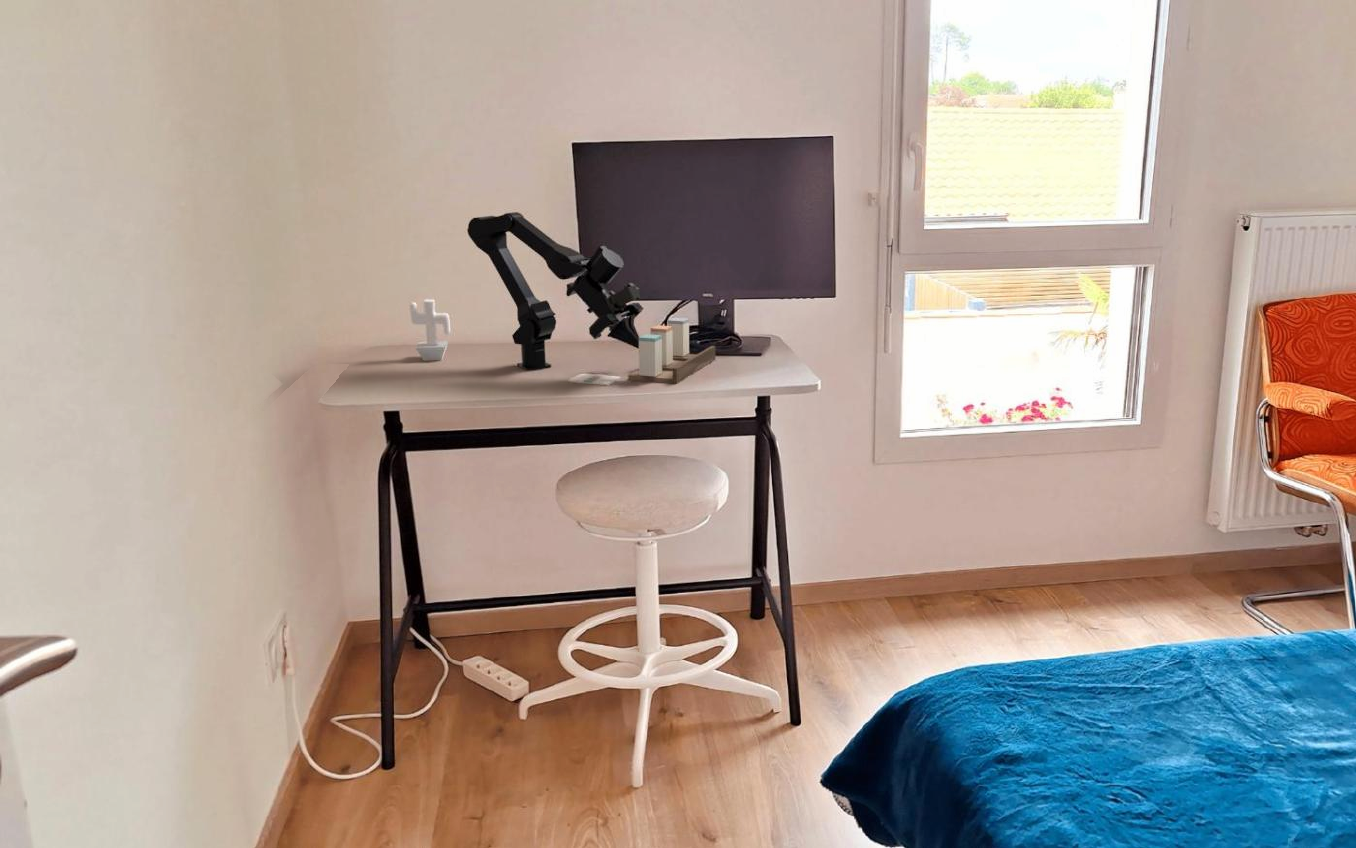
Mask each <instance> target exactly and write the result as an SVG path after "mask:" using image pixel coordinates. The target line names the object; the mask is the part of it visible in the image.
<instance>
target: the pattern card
mask: <svg viewBox="0 0 1356 848" xmlns="http://www.w3.org/2000/svg"><path fill="white" fill-rule="evenodd" d="M621 379H622V378H621V376H618V375H617V376H614V375H606V374H601V373H600V374H599V373H597V374H593V373H580V374H577V375H575V376H573V377H571V378H569V379H568V380H567V382H568V383H577V384H589V385H597V386H599V385H600V386H609V385H611V384H613V383H615V382H617V381H619V380H621Z"/></svg>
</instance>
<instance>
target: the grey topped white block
mask: <svg viewBox="0 0 1356 848" xmlns="http://www.w3.org/2000/svg"><path fill="white" fill-rule="evenodd" d="M667 326H673V356H685V355H687V354H690V318H686V317H685V318H683V317H673V318H670V319H668V320H667Z"/></svg>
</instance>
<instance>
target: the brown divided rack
mask: <svg viewBox="0 0 1356 848" xmlns="http://www.w3.org/2000/svg"><path fill="white" fill-rule="evenodd" d="M713 360H714V361H716V346H715V345H710V346H709V347H707V348H705V349H704V350H702V351H700V352H699V353H697V354H695V353H689V354H687V355H685V356H673V363H671V364H669V365H667V366H663V365H662V373H661V374H659V375H658V376H656V377H653V376H642V375H639V369H637V370H636V371H634V372H631V373H630V374H628V375H627V379H628V380H631V381H643V382H655V383H664V384H675V385H677V384H679V383H680V382H682V381H684V380H685V379H687V378H689V377H690V376H692V375H693V374H695V373H696V371H697V370H698V371H700V370H702V369H703V368H704V367H707V366H708V365H710V364H711V363H713V362H714V361H713ZM712 361H713V362H712ZM710 362H711V363H710ZM709 363H710V364H709ZM707 364H708V365H707ZM698 371H697V372H698ZM694 372H695V373H694ZM688 376H689V377H688Z"/></svg>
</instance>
